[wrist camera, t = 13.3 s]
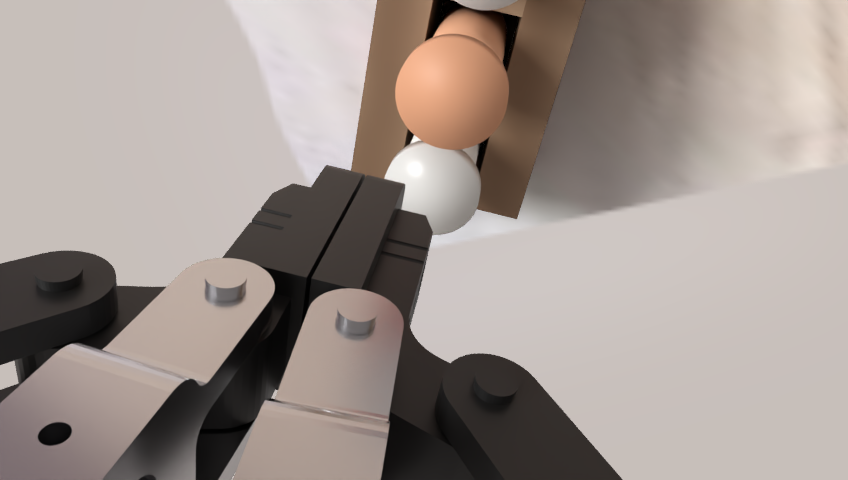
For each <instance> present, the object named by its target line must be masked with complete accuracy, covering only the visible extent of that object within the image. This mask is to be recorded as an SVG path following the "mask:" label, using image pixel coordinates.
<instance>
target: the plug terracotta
mask: <svg viewBox="0 0 848 480" xmlns="http://www.w3.org/2000/svg"><path fill="white" fill-rule="evenodd" d="M506 40H507V26H506V22H505V19H504V17H503V15H502V14H501V12H498V11H494V10H477V9H472V8H469V7H466V6H463V5H461V4H459V3H457V4H455V5H454V6H453V7H452V8H451V9H450V10H449V11H448V12H447V13H446V15H445V17H444V18H443V20H442V22H441V24H440V25H439V27H438V29H437V31H436V33H435V34H434V36H433V38H430V39H428V40H426V41H425V42H423V43H422V44H420V45H419V46H418V47H417V48H416V49H415V50H414V51H413V52H412V53H411V54H410V55H409V57H408V58H407V60H406V61H405V63H404V65H403V66H402V68H401V70H400V72H399V75H398V78H397V82H396V88H395V99H396V105H397V108H398V112H399V114H400V116H401V119H402V120H403V122H404V124H405V125H406V126H407V128H408V129H409V130H410V131H411V132H412V133H413V134H414V135H415V136H416V137H417V138H419V139H420V140H422V141H423V142H425V143H427V144H429V145H431V146H434V147H437V148H441V149H447V150H459V149H465V148H469V147H472V146H475V145H477V144H479V143H481V142H483V141H484V140H486V139H487V138H488V137H489V136H491V135H492V134H493V133H494V132H495V130H496V129H497V128H498V126H499V125H500V124H501V122H502V120H503V118H504V115H505V112H506V108H507V104H508V96H509V82H508V77H507V73H506V70H505V67H504V65H503V57H504V51H505V46H506Z"/></svg>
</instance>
